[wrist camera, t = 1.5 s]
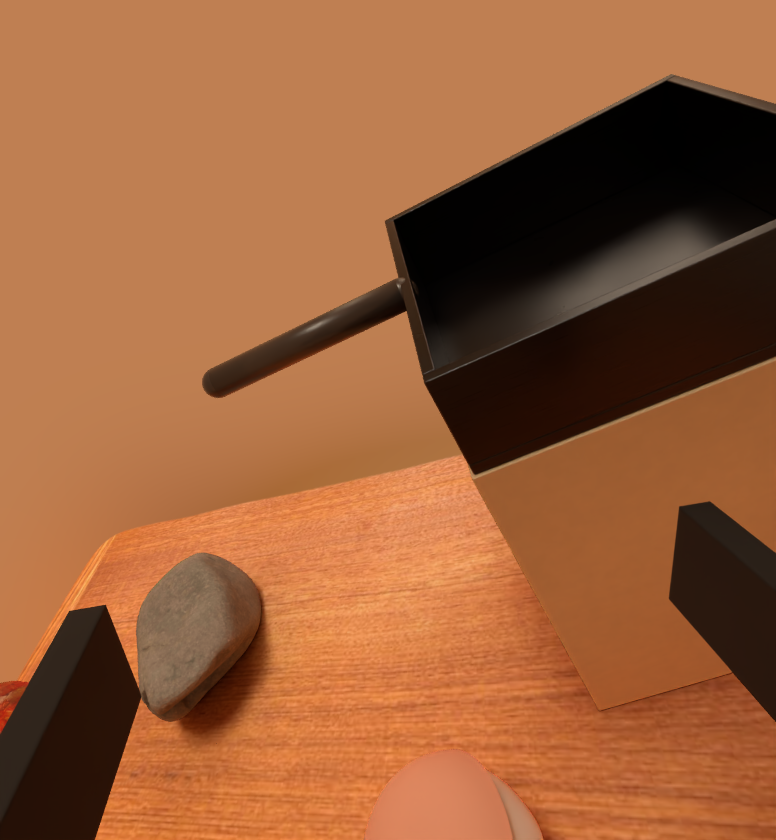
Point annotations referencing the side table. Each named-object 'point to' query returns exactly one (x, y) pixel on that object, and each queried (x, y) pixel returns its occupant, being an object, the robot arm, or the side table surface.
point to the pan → (578, 274)
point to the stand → (637, 526)
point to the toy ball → (449, 803)
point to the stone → (193, 632)
